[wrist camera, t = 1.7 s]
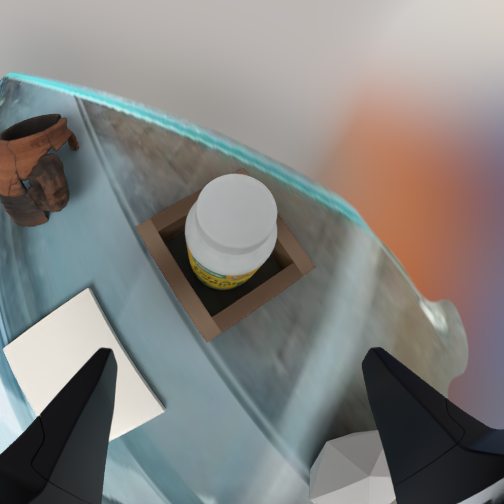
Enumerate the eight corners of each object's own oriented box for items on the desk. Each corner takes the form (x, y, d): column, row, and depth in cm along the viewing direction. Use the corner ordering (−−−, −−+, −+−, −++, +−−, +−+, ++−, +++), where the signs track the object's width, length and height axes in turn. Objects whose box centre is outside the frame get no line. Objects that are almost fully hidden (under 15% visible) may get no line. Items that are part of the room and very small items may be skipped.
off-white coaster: (165, 408, 19) (164, 411, 18) (71, 457, 16) (67, 460, 15) (91, 289, 20) (87, 287, 19) (7, 348, 17) (2, 348, 16)
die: (319, 506, 18) (413, 515, 12) (268, 508, 14) (391, 532, 8) (339, 436, 24) (431, 434, 17) (297, 418, 20) (418, 418, 14)
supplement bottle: (259, 231, 24) (295, 172, 15) (252, 296, 22) (289, 271, 13) (195, 221, 23) (194, 154, 14) (183, 285, 22) (172, 252, 13)
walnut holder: (302, 274, 24) (315, 266, 21) (206, 340, 21) (206, 342, 18) (238, 185, 25) (243, 167, 22) (143, 239, 22) (135, 226, 19)
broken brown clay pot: (-4, 210, 20) (-23, 140, 15) (60, 171, 27) (53, 105, 21) (39, 265, 17) (8, 170, 12) (121, 207, 24) (117, 121, 18)
